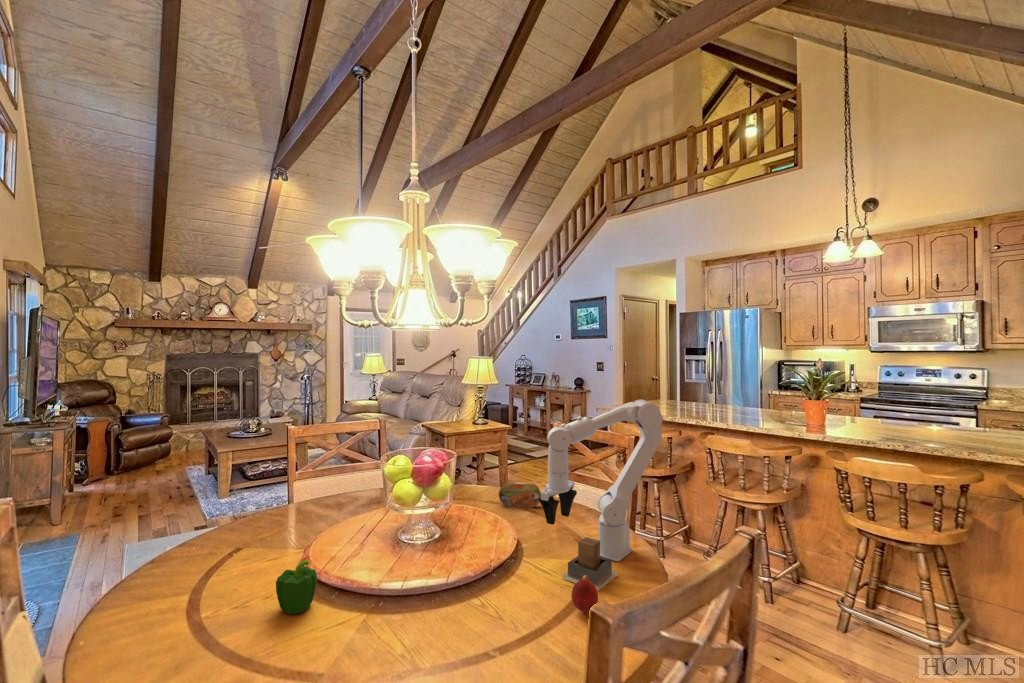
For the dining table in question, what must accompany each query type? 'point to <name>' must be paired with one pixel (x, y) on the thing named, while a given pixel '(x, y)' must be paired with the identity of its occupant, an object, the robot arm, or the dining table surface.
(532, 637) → the dining table surface
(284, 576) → the bell pepper
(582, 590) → the onion
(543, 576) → the dining table surface
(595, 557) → the rail post
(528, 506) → the tin
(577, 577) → the grey square socket
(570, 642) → the dining table surface
